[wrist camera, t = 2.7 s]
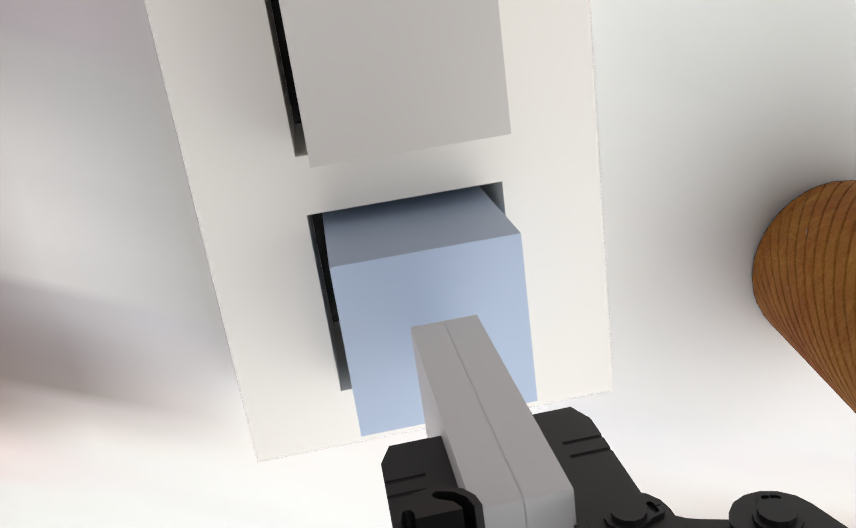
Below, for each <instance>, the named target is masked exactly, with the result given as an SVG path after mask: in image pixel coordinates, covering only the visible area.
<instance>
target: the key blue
mask: <svg viewBox="0 0 856 528" xmlns="http://www.w3.org/2000/svg"><path fill="white" fill-rule="evenodd" d="M322 215H323V223H324V231H325V238H326V246H327V253H328V261H329V268H330V274H331V279H332V284H333V289H334V295H335V300H336V305H337V311H338V316H339V321H340V326H341V332H342V337H343V342H344V347H345V353H346V358H347V363H348V369H349V374H350V379H351V384H352V390H353V395H354V400H355V405H356V411H357V416H358V421H359V426H360V432H361V437H362V436H367V435H372V434H377V433H382V432H386V431H391V430H396V429H401V428H406V427H411V426H416V425H421V424H425V419H424V413H423V406H422V400H421V393H420V387H419V381H418V374H417V368H416V361H415V355H414V349H413V342H412V336H411V329H410V327H414V326H419V325H424V324H429V323H435V322H440V321H445V320H450V319H456V318H461V317H466V316H471V315H476V314H477V316H478V318H479V319H480V321H481V323H482V325H483V327H484V328H485V330H486V332H487V334H488V336H489V337H490V339H491V341H492V343H493V345H494V346H495V348H496V350H497V352H498V354H499V356H500V357H501V359H502V361H503V363H504V365H505V366H506V368H507V370H508V372H509V374H510V375H511V377H512V379H513V381H514V383H515V384H516V386H517V388H518V390H519V392H520V393H521V395H522V397H523V399H524V401H525V402H526V403H529V402H534V401H538V400H537V390H536V380H535V370H534V360H533V350H532V340H531V329H530V319H529V309H528V299H527V289H526V279H525V269H524V258H523V248H522V238H521V233H520V231H519V230H518V229H517V228H516V227H515V226H514V225H513V224H512V222H511V221H510V220H509V219H508V218H507V217H506V216H505V215H504V213H503V212H502V211H501V210H500V209H499V208H498V207H497V206H496V204H495V203H494V202H493V201H492V200H491V199H490V198H489V197H488V195H487V194H486V193H485V192H484V191H483V190H482V189H481V188H480V186H479V185H478V186H472V187H466V188H461V189H455V190H449V191H443V192H438V193H432V194H426V195H420V196H415V197H409V198H403V199H397V200H392V201H386V202H380V203H374V204H369V205H363V206H357V207H351V208H346V209H340V210H334V211H328V212H323V213H322Z"/></svg>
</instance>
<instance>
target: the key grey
mask: <svg viewBox="0 0 856 528" xmlns="http://www.w3.org/2000/svg"><path fill="white" fill-rule="evenodd" d="M279 5H280V10H281V15H282V21H283V26H284V31H285V37H286V42H287V47H288V52H289V58H290V63H291V68H292V73H293V79H294V84H295V89H296V94H297V100H298V105H299V110H300V116H301V121H302V126H303V131H304V137H305V142H306V147H307V152H308V158H309V163H310V168H312V167H318V166H324V165H329V164H335V163H341V162H347V161H353V160H359V159H365V158H371V157H377V156H383V155H389V154H395V153H401V152H407V151H413V150H419V149H425V148H431V147H437V146H443V145H449V144H455V143H460V142H466V141H472V140H478V139H484V138H490V137H496V136H502V135H508V134H511V126H510V116H509V106H508V96H507V86H506V76H505V66H504V55H503V45H502V35H501V25H500V15H499V5H498V0H279Z"/></svg>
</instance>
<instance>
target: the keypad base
mask: <svg viewBox="0 0 856 528" xmlns="http://www.w3.org/2000/svg"><path fill="white" fill-rule="evenodd" d="M144 3H145V7H146V11H147V15H148V19H149V23H150V27H151V31H152V36H153V40H154V44H155V48H156V52H157V56H158V60H159V64H160V68H161V72H162V76H163V80H164V84H165V88H166V92H167V97H168V101H169V105H170V109H171V113H172V117H173V121H174V125H175V129H176V133H177V137H178V141H179V145H180V149H181V153H182V158H183V162H184V166H185V170H186V174H187V178H188V182H189V186H190V190H191V194H192V198H193V202H194V206H195V210H196V215H197V219H198V223H199V227H200V231H201V235H202V239H203V243H204V247H205V251H206V255H207V259H208V263H209V267H210V271H211V276H212V280H213V284H214V288H215V292H216V296H217V300H218V304H219V308H220V312H221V316H222V320H223V324H224V328H225V332H226V337H227V341H228V345H229V349H230V353H231V357H232V361H233V365H234V369H235V373H236V377H237V381H238V385H239V389H240V394H241V398H242V402H243V406H244V410H245V414H246V418H247V422H248V426H249V430H250V434H251V438H252V442H253V446H254V450H255V455H256V459H257V463H258V462H263V461H268V460H273V459H278V458H283V457H288V456H293V455H298V454H303V453H308V452H312V451H317V450H322V449H327V448H332V447H337V446H342V445H347V444H352V443H357V442H362V441H367V440H371V439H376V438H381V437H386V436H391V435H396V434H401V433H406V432H411V431H416V430H421V429H425V428H426V425H425V424H421V425H416V426H411V427H406V428H401V429H396V430H391V431H386V432H382V433H377V434H372V435H367V436H362V437H361V432H360V426H359V421H358V416H357V411H356V405H355V400H354V395H353V390H352V384H351V379H350V374H349V369H348V363H347V358H346V353H345V347H344V342H343V337H342V332H341V326H340V321H339V322H334V323H333V322H332V316H331V311H330V306H329V301H328V296H327V291H326V285H325V280H324V275H323V270H322V265H321V260H320V254H319V249H318V244H317V239H316V234H315V228H314V223H313V218H312V214H317V213H323V212H328V211H334V210H340V209H346V208H351V207H357V206H363V205H369V204H374V203H380V202H386V201H392V200H397V199H403V198H409V197H415V196H420V195H426V194H432V193H438V192H443V191H449V190H455V189H461V188H466V187H472V186H478V185H479V186H480V188H481V189H482V190H483V191H484V192H485V193H486V194H487V195H488V197H489V198H490V199H491V200H492V201H493V202H494V203H495V204H496V206H497V207H498V208H499V209H500V210H501V211H502V212H503V213H504V215H505V216H506V217H507V218H508V219H509V220H510V221H511V222H512V224H513V225H514V226H515V227H516V228H517V229H518V230H519V231H520V233H521V238H522V248H523V258H524V269H525V279H526V289H527V299H528V309H529V319H530V329H531V340H532V350H533V360H534V370H535V380H536V390H537V400H538V401H534V402H529V403H526V404H527V406H528V408H529V407H534V406H538V405H543V404H548V403H553V402H558V401H563V400H568V399H573V398H578V397H583V396H588V395H592V394H597V393H602V392H607V391H612V390H613V375H612V358H611V342H610V325H609V309H608V292H607V275H606V259H605V242H604V226H603V209H602V193H601V176H600V159H599V143H598V126H597V110H596V93H595V77H594V60H593V43H592V27H591V10H590V0H498V5H499V15H500V25H501V35H502V45H503V55H504V66H505V76H506V86H507V96H508V106H509V116H510V126H511V134H508V135H502V136H496V137H490V138H484V139H478V140H472V141H466V142H460V143H455V144H449V145H443V146H437V147H431V148H425V149H419V150H413V151H407V152H401V153H395V154H389V155H383V156H377V157H371V158H365V159H359V160H353V161H347V162H341V163H335V164H329V165H324V166H318V167H312V168H310V163H309V158H308V152H307V147H306V142H305V137H304V131H303V126H302V123H299V124H294V120H293V115H292V109H291V104H290V99H289V94H288V89H287V84H286V78H285V73H284V68H283V63H282V58H281V52H280V47H279V42H278V37H277V32H276V27H275V21H274V16H273V11H272V6H271V1H270V0H144Z"/></svg>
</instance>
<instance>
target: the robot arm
mask: <svg viewBox="0 0 856 528" xmlns="http://www.w3.org/2000/svg"><path fill="white" fill-rule="evenodd" d="M410 329H411V336H412V342H413V349H414V355H415V361H416V368H417V374H418V381H419V387H420V393H421V400H422V406H423V413H424V419H425V425H426V432H427V436H428V438H426V439H422V440H417V441H412V442H407V443H402V444H397V445H393V446H389V448H388V450H387V452H386V454H385V457H384V459H383V461H382V463H381V466H382V472H383V477H384V483H385V488H386V494H387V499H388V504H389V510H390V515H391V521H392V526H393V528H848V527H846V526H845V525H843V524H842V523H840V522H839V521H837V520H836V519H834V518H833V517H831V516H830V515H828V514H827V513H825V512H824V511H822V510H821V509H819V508H818V507H816V506H815V505H813V504H812V503H810V502H808V501H806V500H804V499H802V498H800V497H798V496H796V495H791V494H787V493H783V492H778V491H758V492H754V493H750V494H747V495H744V496H742V497H741V498H739V499H738V500H736V501H735V502H733V504H732V507H731V509H730V511H729V520H720V519H691V518H683V517H679V516H675V515H674V513H673V512H672V510H671V509H670V508H669V507H668V506H667V505H666V504H664V503H663V502H662V501H661V500H660V499H657V498H655V497H653V496H651V495H648V494H646V493H641V492H640V490H639V489H638V488H637V486H636V485H635V483H634V482H633V480H632V479H631V477H630V476H629V474H628V473H627V471H626V470H625V468H624V467H623V466H622V464H621V463H620V461H619V460H618V458H617V457H616V455H615V454H614V452H613V451H612V450H610V446H609V445H608V444H607V442H606V441H605V439H604V438H603V437H602V436H601V433H600V432H599V430H598V429H597V427H596V426H595V424H594V423H593V421H592V420H591V419H590V418H589V417H587V416H585V415H584V414H582V413H580V412H579V411H577V410H575V409H573V408H572V407H568V408H563V409H558V410H553V411H548V412H543V413H538V414H534V415H532V413H531V411H530V410H529V408H528V406H527V404H526V402H525V401H524V399H523V397H522V395H521V393H520V392H519V390H518V388H517V386H516V384H515V383H514V381H513V379H512V377H511V375H510V374H509V372H508V370H507V368H506V366H505V365H504V363H503V361H502V359H501V357H500V356H499V354H498V352H497V350H496V348H495V346H494V345H493V343H492V341H491V339H490V337H489V336H488V334H487V332H486V330H485V328H484V327H483V325H482V323H481V321H480V319H479V318H478V316H477V314H476V315H471V316H466V317H461V318H456V319H450V320H445V321H440V322H435V323H429V324H424V325H419V326H414V327H410Z"/></svg>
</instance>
